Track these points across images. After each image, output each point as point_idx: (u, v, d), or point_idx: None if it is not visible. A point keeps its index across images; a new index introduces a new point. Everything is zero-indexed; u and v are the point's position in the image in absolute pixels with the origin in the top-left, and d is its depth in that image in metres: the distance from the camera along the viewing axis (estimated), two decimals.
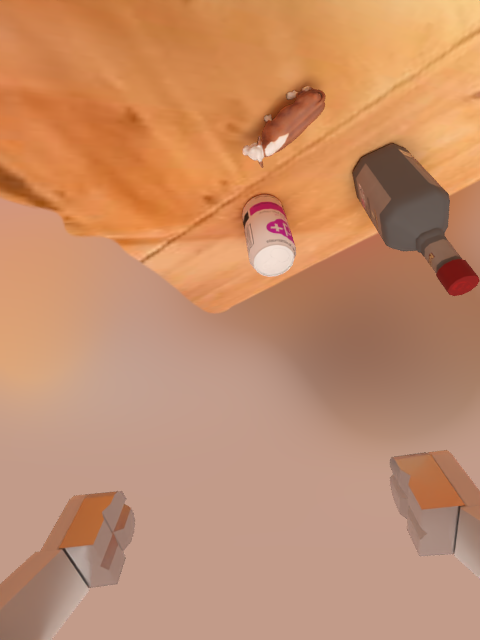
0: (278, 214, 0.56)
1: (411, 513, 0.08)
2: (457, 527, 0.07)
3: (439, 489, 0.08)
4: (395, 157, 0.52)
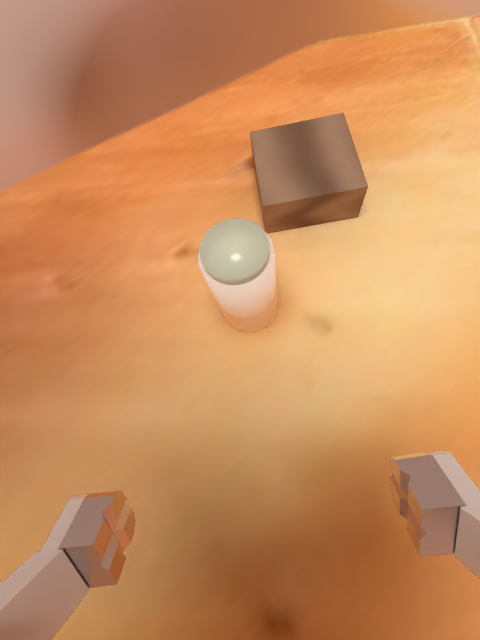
0: None
1: (411, 513, 0.08)
2: (457, 528, 0.07)
3: (439, 489, 0.08)
4: None
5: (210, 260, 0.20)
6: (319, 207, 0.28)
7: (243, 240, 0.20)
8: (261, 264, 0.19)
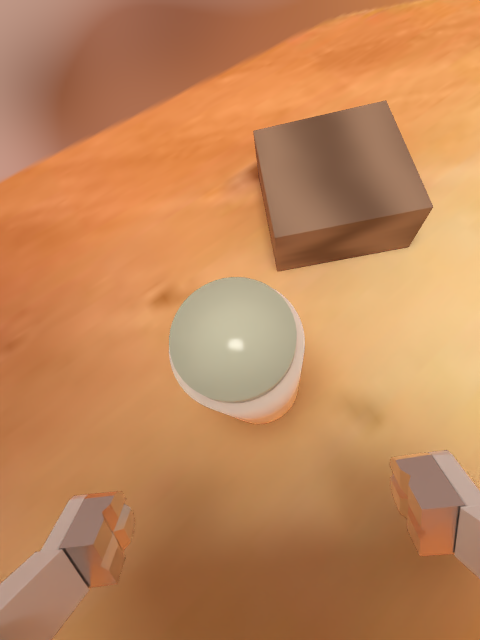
0: None
1: (411, 513, 0.08)
2: (458, 527, 0.07)
3: (439, 489, 0.08)
4: None
5: (188, 359, 0.11)
6: (356, 236, 0.20)
7: (248, 320, 0.11)
8: (284, 371, 0.10)
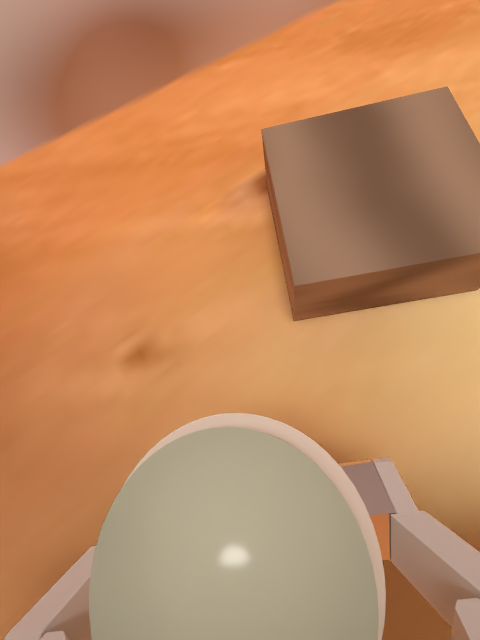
0: None
1: None
2: (391, 534, 0.07)
3: (374, 496, 0.08)
4: None
5: None
6: (411, 281, 0.14)
7: (263, 544, 0.05)
8: None
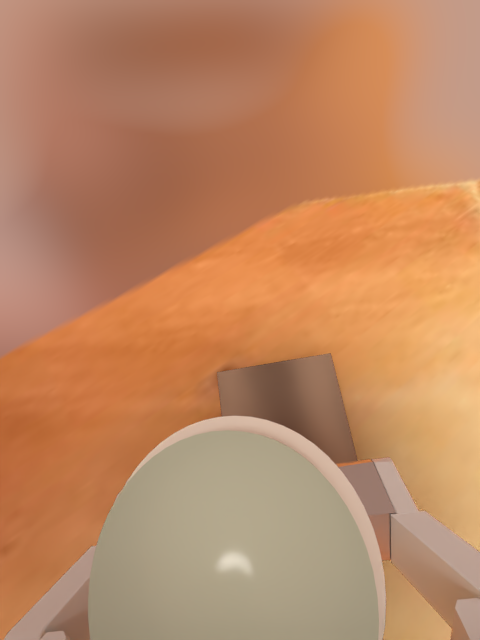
0: None
1: None
2: (391, 534, 0.07)
3: (374, 496, 0.08)
4: None
5: None
6: None
7: (263, 549, 0.05)
8: None
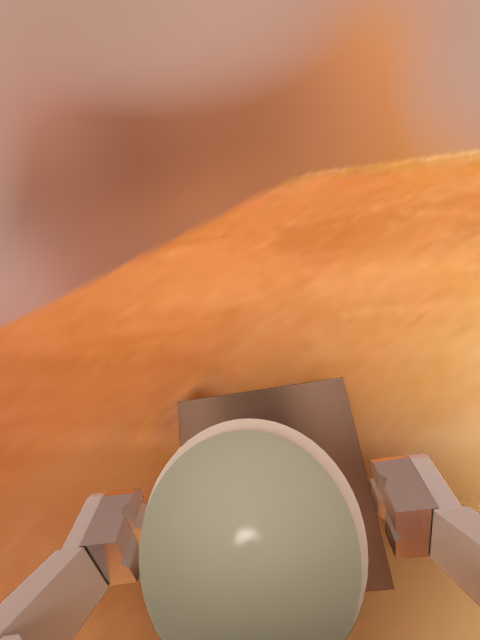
0: None
1: (388, 516, 0.08)
2: (431, 530, 0.07)
3: (414, 492, 0.08)
4: None
5: (171, 594, 0.06)
6: None
7: (275, 521, 0.06)
8: None
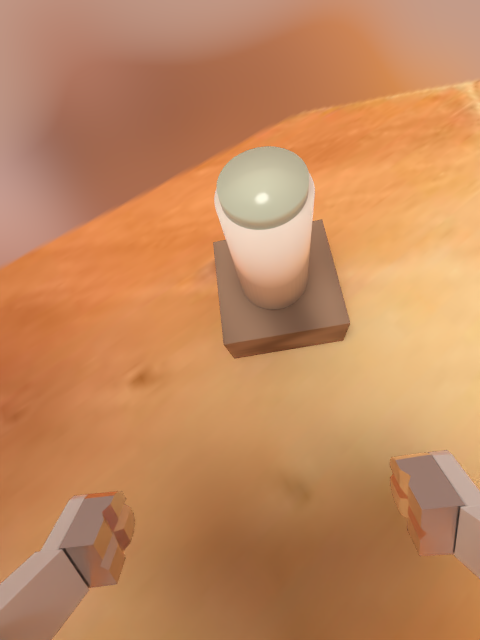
0: None
1: (411, 513, 0.08)
2: (457, 528, 0.07)
3: (439, 489, 0.08)
4: None
5: (231, 197, 0.15)
6: (293, 339, 0.24)
7: (274, 171, 0.15)
8: (300, 199, 0.14)
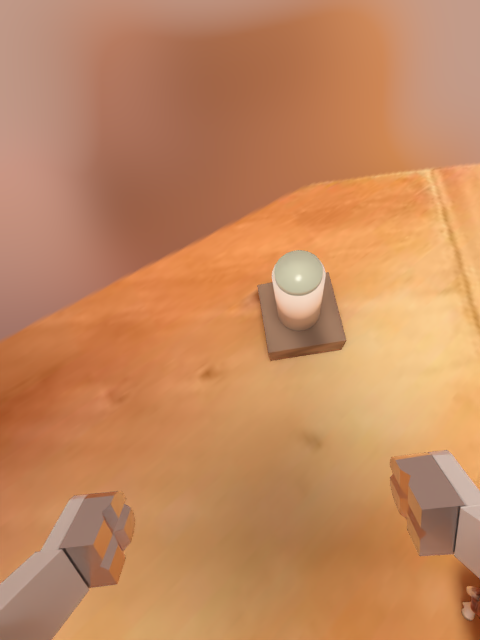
0: None
1: (411, 513, 0.08)
2: (457, 527, 0.07)
3: (439, 489, 0.08)
4: None
5: (282, 279, 0.29)
6: (310, 349, 0.38)
7: (304, 265, 0.29)
8: (318, 282, 0.28)
